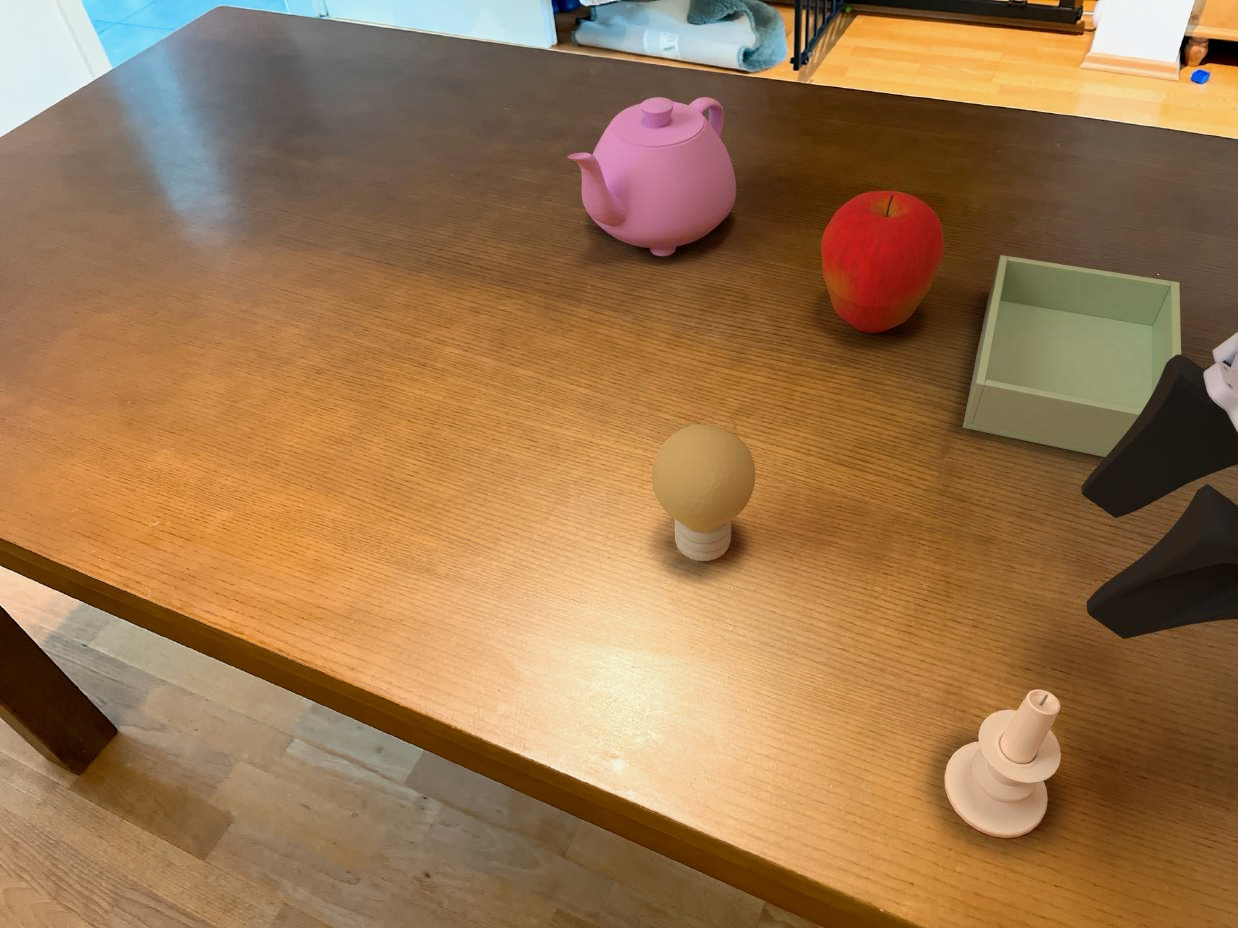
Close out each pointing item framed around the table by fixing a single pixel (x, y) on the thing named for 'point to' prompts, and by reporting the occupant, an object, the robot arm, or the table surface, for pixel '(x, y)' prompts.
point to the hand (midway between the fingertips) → (1101, 557)
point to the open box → (1070, 353)
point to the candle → (1007, 769)
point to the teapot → (660, 174)
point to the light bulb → (703, 487)
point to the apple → (881, 258)
